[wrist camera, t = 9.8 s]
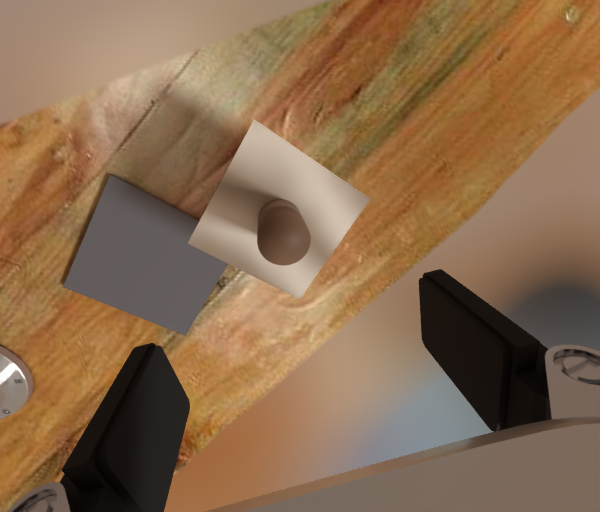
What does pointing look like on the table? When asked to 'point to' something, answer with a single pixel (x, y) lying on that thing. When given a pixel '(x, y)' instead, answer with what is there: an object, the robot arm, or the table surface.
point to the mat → (144, 259)
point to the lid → (277, 213)
